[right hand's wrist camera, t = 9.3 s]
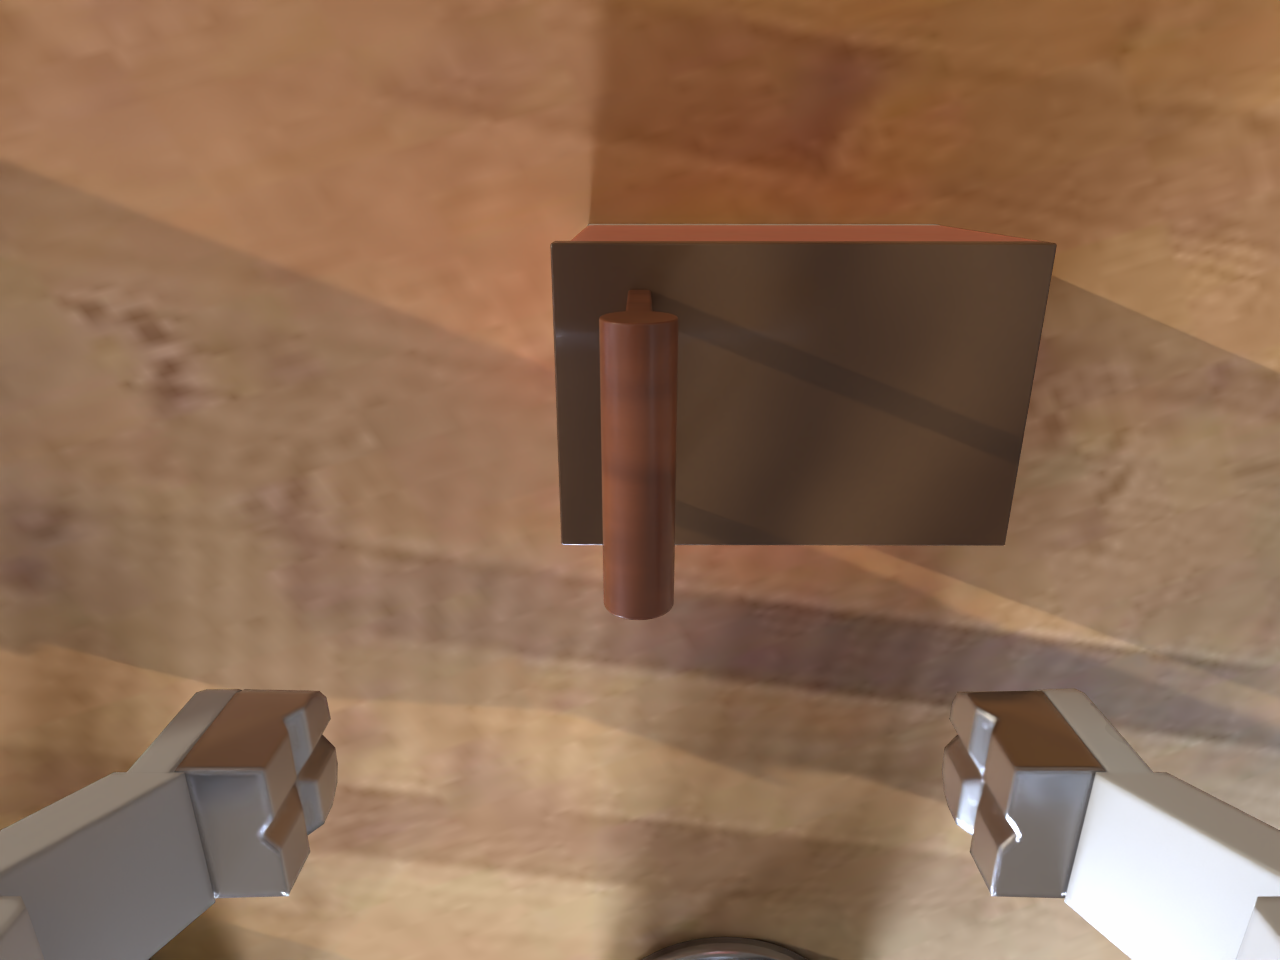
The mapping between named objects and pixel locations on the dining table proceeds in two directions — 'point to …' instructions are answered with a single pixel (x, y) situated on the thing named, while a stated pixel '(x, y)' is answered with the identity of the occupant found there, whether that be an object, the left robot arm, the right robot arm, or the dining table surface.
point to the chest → (784, 232)
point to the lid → (788, 396)
